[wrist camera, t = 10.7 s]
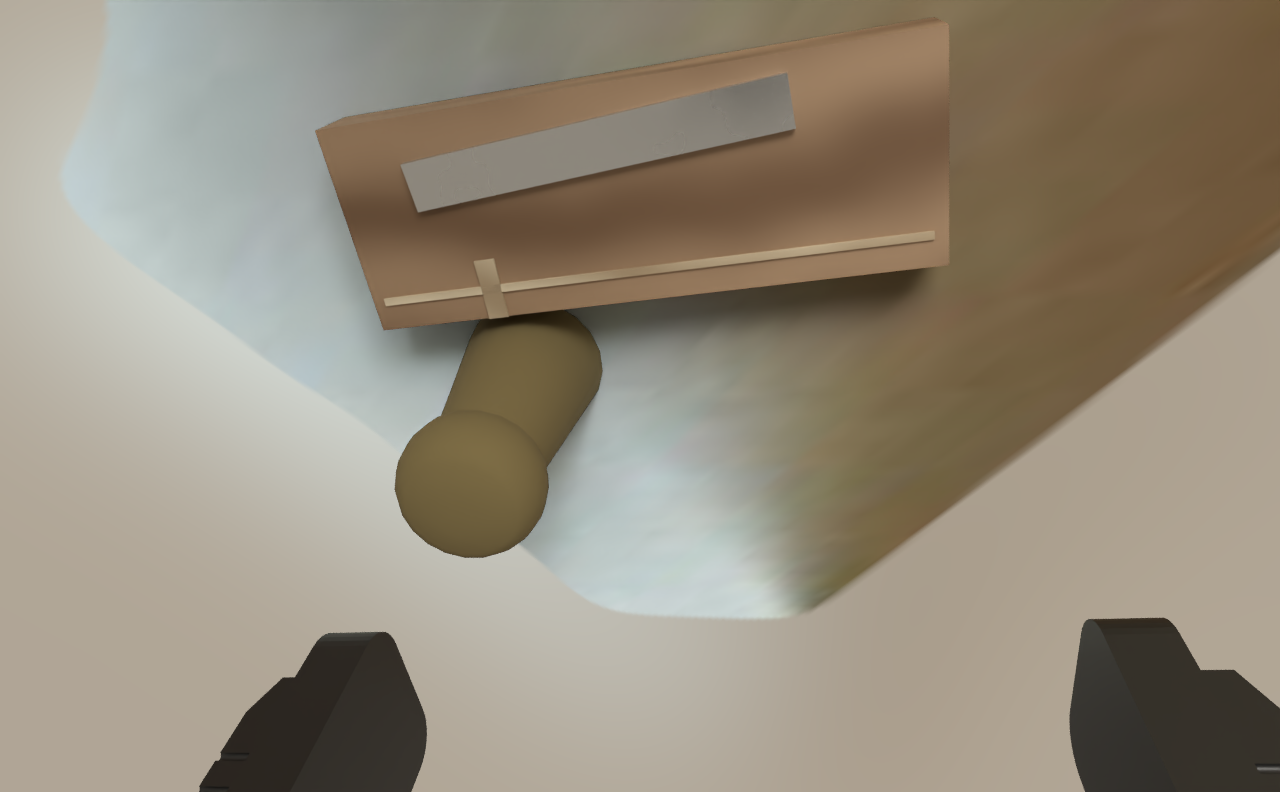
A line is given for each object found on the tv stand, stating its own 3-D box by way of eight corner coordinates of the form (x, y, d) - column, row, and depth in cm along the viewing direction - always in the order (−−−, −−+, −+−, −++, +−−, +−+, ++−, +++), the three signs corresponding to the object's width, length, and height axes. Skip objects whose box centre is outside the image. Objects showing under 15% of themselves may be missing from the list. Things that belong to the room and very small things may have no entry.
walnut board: (344, 117, 33) (313, 131, 30) (934, 17, 28) (949, 24, 26) (406, 306, 36) (382, 331, 34) (936, 242, 32) (949, 265, 30)
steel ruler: (403, 162, 31) (400, 164, 30) (786, 71, 28) (787, 73, 27) (420, 210, 31) (418, 212, 31) (795, 126, 28) (796, 128, 28)
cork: (442, 367, 38) (335, 515, 28) (518, 272, 35) (427, 401, 25) (549, 445, 39) (482, 613, 29) (630, 360, 36) (584, 514, 27)
